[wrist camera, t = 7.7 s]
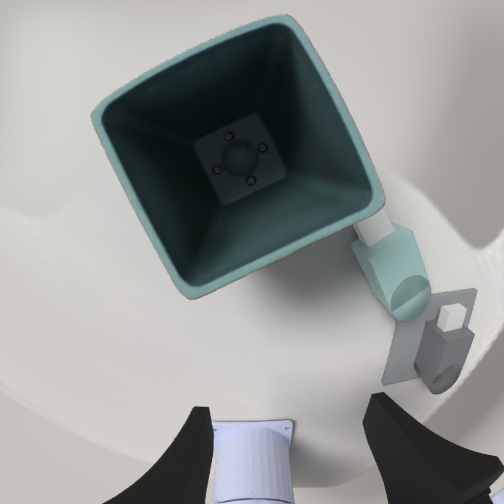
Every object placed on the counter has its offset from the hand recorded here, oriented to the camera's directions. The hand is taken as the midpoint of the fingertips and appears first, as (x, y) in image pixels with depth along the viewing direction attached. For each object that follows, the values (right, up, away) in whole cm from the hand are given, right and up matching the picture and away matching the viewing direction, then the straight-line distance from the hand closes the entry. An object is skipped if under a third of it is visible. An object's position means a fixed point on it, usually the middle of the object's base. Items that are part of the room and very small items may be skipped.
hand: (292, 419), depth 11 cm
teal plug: (+8, +7, +9) cm, 14 cm away
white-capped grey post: (+15, -1, +11) cm, 18 cm away
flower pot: (-2, +13, +7) cm, 15 cm away
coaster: (+15, -1, +11) cm, 19 cm away
